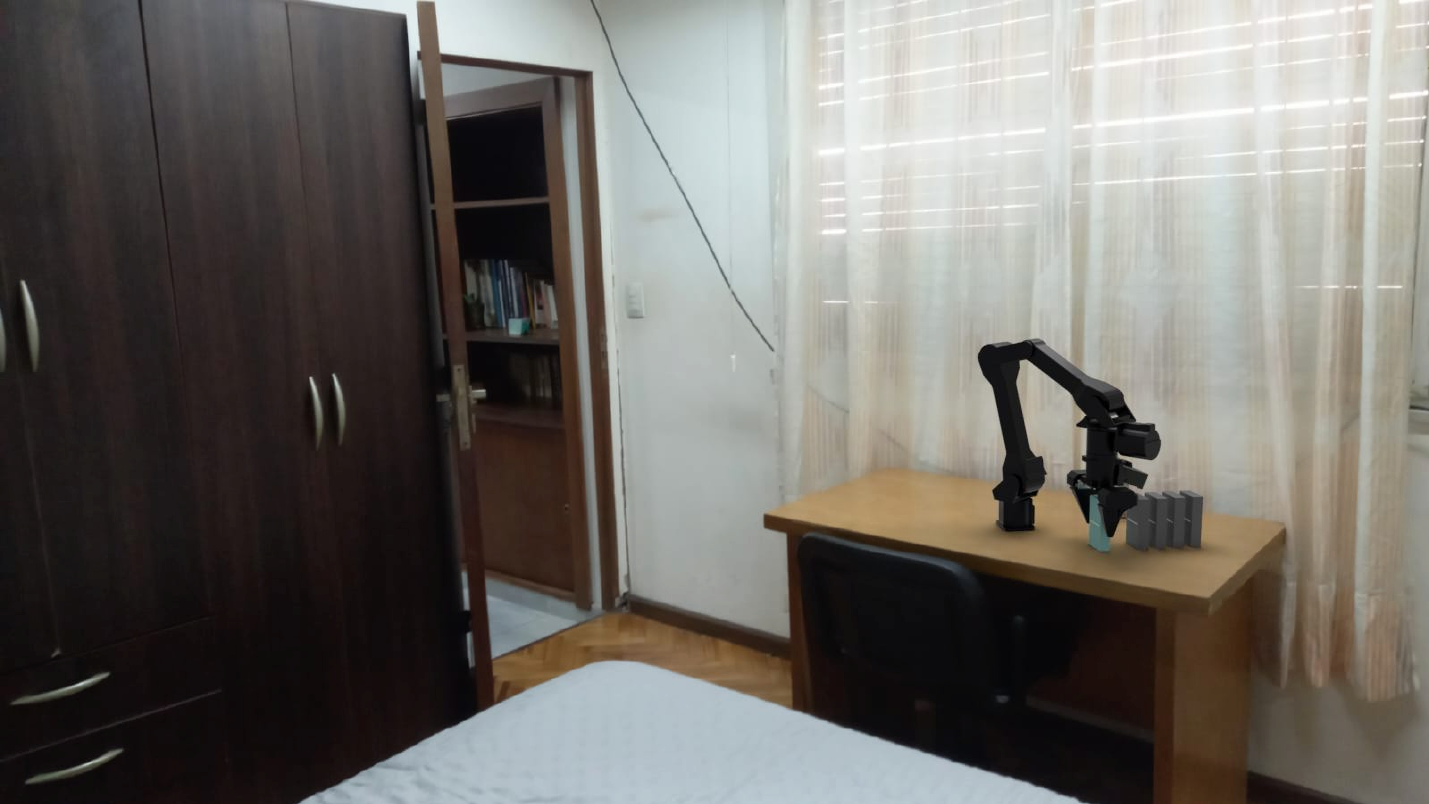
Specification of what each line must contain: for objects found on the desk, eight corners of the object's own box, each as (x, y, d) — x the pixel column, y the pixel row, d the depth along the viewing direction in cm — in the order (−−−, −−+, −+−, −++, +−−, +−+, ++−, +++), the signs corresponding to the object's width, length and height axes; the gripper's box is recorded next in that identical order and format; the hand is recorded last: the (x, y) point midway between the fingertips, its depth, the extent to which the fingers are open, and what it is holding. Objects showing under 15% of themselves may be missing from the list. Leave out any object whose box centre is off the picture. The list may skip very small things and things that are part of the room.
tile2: (1137, 549, 185) (1139, 499, 184) (1125, 541, 190) (1127, 493, 189) (1148, 549, 185) (1149, 499, 184) (1135, 541, 190) (1137, 492, 189)
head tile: (1099, 551, 185) (1100, 501, 183) (1088, 543, 190) (1089, 495, 188) (1110, 551, 185) (1111, 501, 184) (1098, 543, 190) (1100, 494, 188)
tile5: (1190, 547, 186) (1192, 497, 184) (1177, 539, 191) (1179, 490, 189) (1201, 546, 186) (1203, 496, 184) (1187, 538, 191) (1189, 490, 189)
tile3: (1155, 548, 185) (1157, 498, 184) (1142, 541, 190) (1144, 492, 189) (1165, 548, 186) (1167, 498, 184) (1153, 540, 190) (1154, 491, 189)
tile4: (1173, 547, 186) (1175, 498, 184) (1160, 540, 191) (1162, 491, 189) (1183, 547, 186) (1185, 497, 184) (1170, 539, 191) (1172, 491, 189)
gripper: (1167, 461, 176) (1164, 542, 178) (1120, 440, 194) (1118, 514, 197) (1107, 463, 175) (1105, 545, 178) (1066, 443, 194) (1064, 517, 196)
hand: (1099, 530), depth 187 cm, fingers open, 9 cm apart
